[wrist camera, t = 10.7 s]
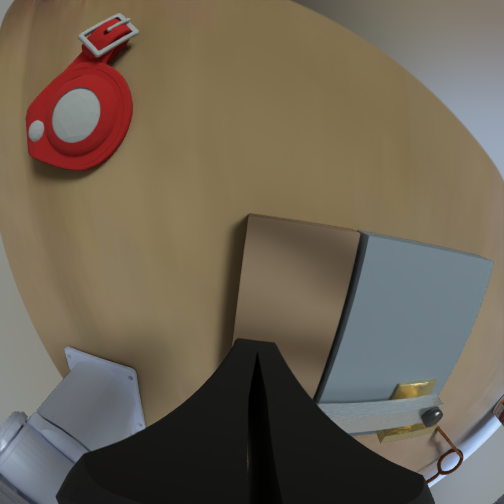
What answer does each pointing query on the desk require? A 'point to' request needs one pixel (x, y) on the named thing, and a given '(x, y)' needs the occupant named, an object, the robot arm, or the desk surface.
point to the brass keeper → (416, 429)
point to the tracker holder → (84, 103)
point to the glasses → (446, 455)
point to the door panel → (402, 319)
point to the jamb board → (295, 289)
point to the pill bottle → (499, 410)
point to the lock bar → (385, 413)
